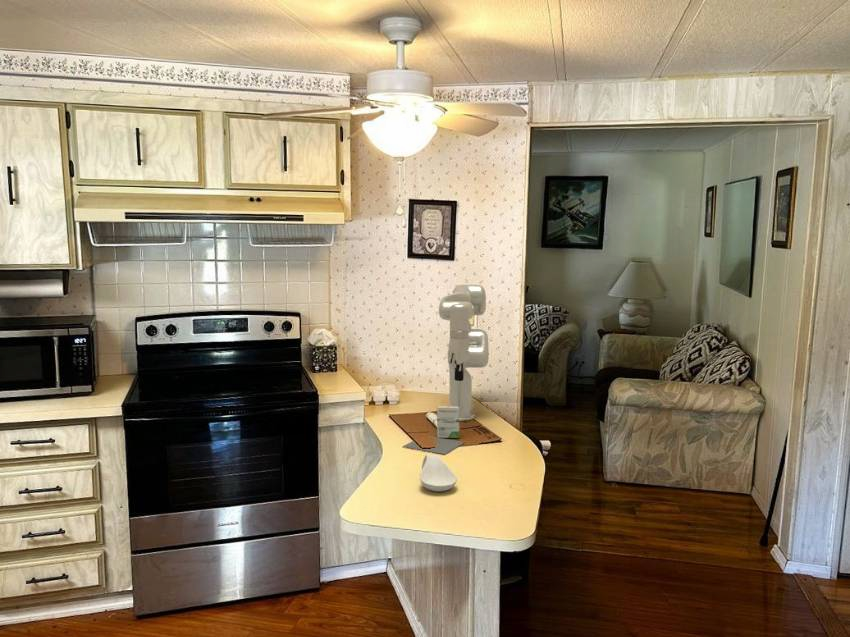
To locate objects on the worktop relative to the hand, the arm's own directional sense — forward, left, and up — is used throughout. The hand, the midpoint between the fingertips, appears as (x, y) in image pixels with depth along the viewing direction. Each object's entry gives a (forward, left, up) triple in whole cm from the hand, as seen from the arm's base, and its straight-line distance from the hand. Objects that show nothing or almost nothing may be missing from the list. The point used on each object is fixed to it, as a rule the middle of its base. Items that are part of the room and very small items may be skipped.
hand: (459, 380), depth 275 cm
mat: (+20, 0, -21) cm, 29 cm away
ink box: (+9, 0, -21) cm, 23 cm away
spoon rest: (+53, +18, -22) cm, 60 cm away
